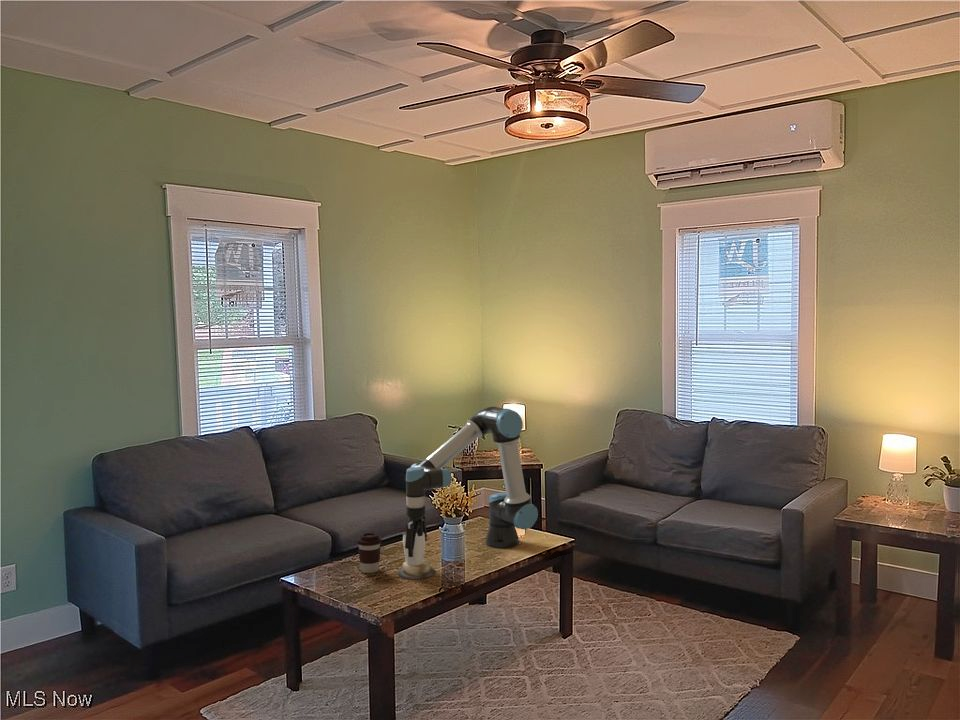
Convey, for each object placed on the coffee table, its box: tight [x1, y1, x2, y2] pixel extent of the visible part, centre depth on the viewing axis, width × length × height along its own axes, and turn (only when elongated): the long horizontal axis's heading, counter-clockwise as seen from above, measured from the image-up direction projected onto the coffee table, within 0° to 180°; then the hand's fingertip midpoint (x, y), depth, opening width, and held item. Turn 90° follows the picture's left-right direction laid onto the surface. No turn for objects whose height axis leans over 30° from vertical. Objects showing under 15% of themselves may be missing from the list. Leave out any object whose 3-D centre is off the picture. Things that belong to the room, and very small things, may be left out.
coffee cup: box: [356, 532, 382, 574], centre depth 324 cm, size 10×10×15 cm
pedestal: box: [397, 559, 436, 581], centre depth 320 cm, size 15×15×4 cm
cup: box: [402, 532, 426, 566], centre depth 320 cm, size 9×9×12 cm
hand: (416, 560), depth 320 cm, fingers closed on cup, 9 cm apart
